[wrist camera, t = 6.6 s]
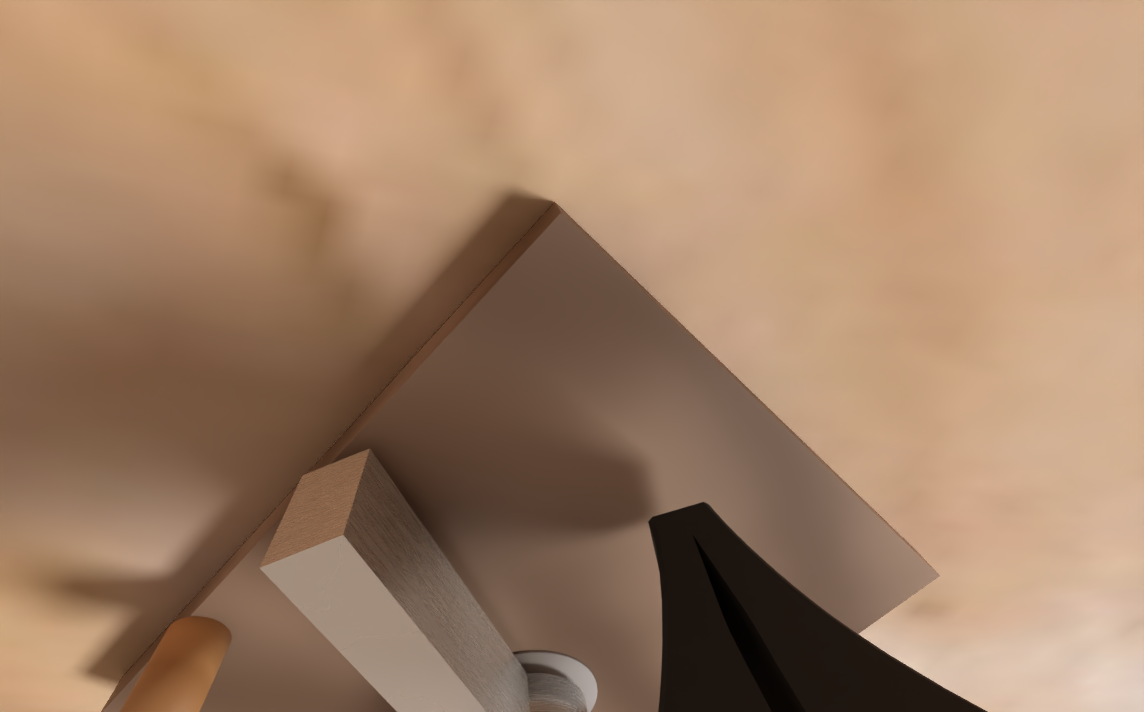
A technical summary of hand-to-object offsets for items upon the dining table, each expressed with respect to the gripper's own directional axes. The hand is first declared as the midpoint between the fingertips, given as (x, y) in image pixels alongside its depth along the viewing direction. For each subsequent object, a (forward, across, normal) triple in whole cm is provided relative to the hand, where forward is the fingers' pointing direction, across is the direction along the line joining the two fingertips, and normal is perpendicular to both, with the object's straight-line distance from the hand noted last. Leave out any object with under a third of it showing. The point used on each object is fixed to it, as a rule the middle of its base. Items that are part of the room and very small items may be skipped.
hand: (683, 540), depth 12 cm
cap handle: (+1, +6, +2) cm, 6 cm away
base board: (+2, +4, +4) cm, 6 cm away
